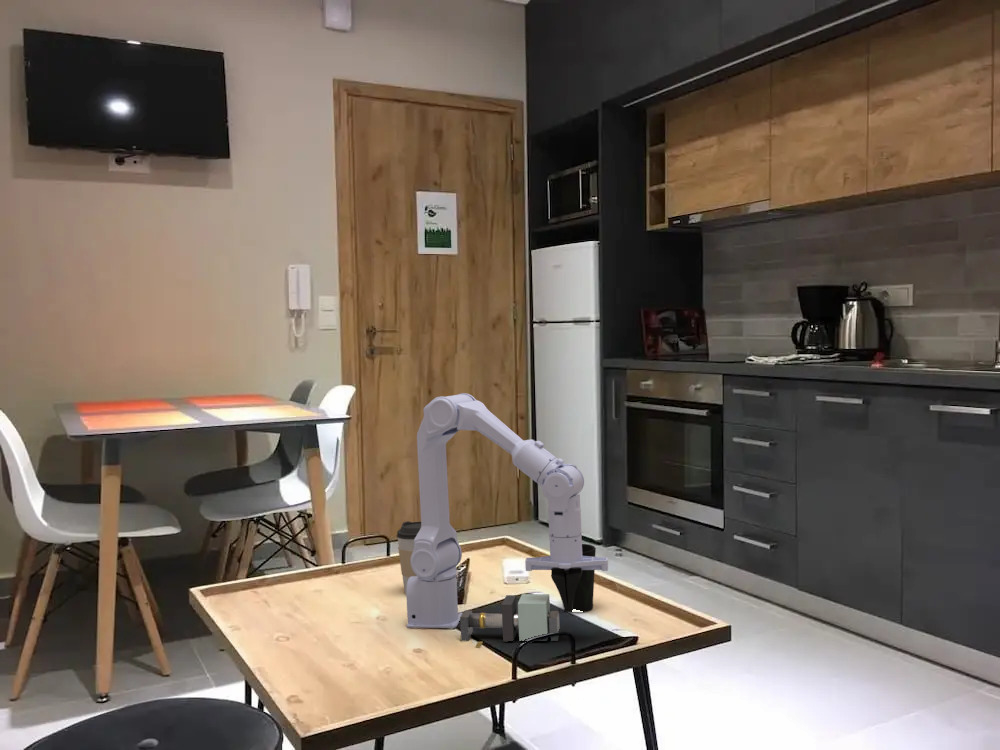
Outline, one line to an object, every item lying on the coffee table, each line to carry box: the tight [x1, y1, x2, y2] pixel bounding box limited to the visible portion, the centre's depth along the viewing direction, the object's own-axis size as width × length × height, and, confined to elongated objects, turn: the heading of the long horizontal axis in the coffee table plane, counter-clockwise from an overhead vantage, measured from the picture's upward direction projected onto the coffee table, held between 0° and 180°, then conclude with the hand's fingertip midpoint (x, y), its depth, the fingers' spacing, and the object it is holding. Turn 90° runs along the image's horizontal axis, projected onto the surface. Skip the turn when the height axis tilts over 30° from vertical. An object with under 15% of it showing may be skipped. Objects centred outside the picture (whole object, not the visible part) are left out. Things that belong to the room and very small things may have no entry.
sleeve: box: [517, 593, 551, 641], centre depth 155 cm, size 5×6×7 cm
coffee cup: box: [396, 520, 421, 594], centre depth 187 cm, size 9×9×15 cm
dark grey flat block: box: [501, 594, 519, 642], centre depth 155 cm, size 2×6×7 cm, turn 171°
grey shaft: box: [459, 609, 561, 648], centre depth 154 cm, size 17×7×4 cm, turn 81°
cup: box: [567, 543, 597, 613], centre depth 170 cm, size 8×8×12 cm
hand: (568, 610), depth 154 cm, fingers closed
